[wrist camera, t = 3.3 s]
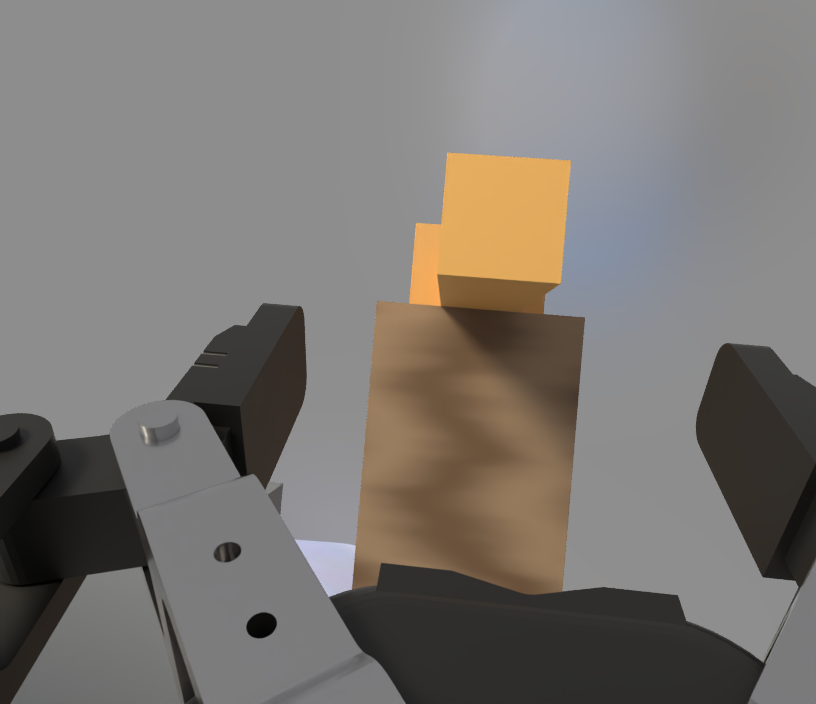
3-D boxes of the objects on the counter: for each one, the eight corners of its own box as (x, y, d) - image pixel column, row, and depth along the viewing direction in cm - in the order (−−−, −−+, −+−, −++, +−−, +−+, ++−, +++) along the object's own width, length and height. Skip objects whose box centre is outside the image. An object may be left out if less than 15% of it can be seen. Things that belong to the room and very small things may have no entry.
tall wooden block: (305, 1130, 24) (376, 300, 25) (352, 876, 36) (400, 320, 37) (515, 1164, 24) (585, 317, 24) (492, 896, 36) (539, 332, 36)
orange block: (376, 269, 16) (390, 108, 16) (415, 319, 35) (421, 246, 35) (623, 288, 15) (637, 123, 15) (526, 328, 34) (532, 255, 34)
